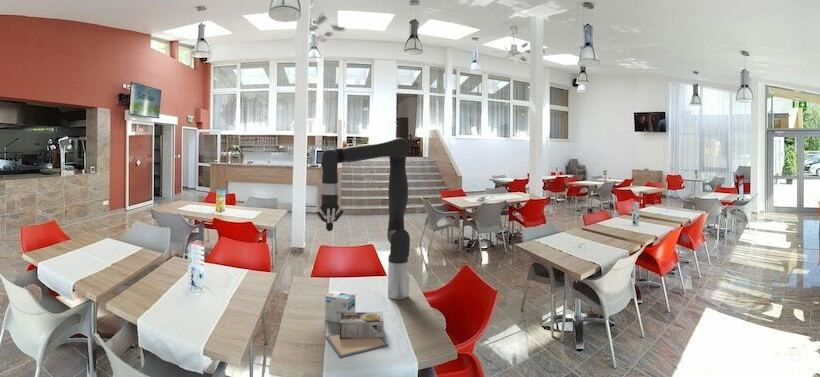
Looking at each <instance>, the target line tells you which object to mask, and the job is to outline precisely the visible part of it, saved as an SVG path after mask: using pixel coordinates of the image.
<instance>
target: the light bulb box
mask: <svg viewBox="0 0 820 377" xmlns="http://www.w3.org/2000/svg"><path fill="white" fill-rule="evenodd" d="M324 299H325V303H324V304H325V305H324V306H325V307H324V308H325V315H324V316H325V321H326V322H332V323H336V324H340V320H341V313H356V293H352V292H342V291H337V290H332V291H330V292H329V293H328V294H326V295H325V296H324Z"/></svg>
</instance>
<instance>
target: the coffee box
mask: <svg viewBox="0 0 820 377" xmlns="http://www.w3.org/2000/svg"><path fill="white" fill-rule="evenodd" d="M384 322H385V321H384V312H383V311H369V312H368V311H366V312H365V311H362V312H355V313H341V320H340V323H339V334H340V339H341V338H378V337H381V338H384V328H385V327H384Z"/></svg>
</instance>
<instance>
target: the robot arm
mask: <svg viewBox="0 0 820 377" xmlns="http://www.w3.org/2000/svg"><path fill="white" fill-rule="evenodd" d="M410 149H411V148H410V144H409V142H408V141H407V140H406V139H405V138H404V137H395V138H393V139H392V140H389V141H385V142H381V143H373V144H371V143H370V144H359V145H358V144H357V145H353V146H352V145H351V146H345V147H342V148H341V147H340V148H339V147H338V148H328V149H326V150H324V151H322V154H321V167H322V173H321V175H322V178H321V190H320V192H321V196H320V198H321V200H320V203H321V205H320V206H319V207H320V208H318V210H316V211H315V214H316V215H317V216H318V218H319V219H320V220H321V221H322V222H324V223H325V229H326V230H327V231H328V232H332V230H334V223H335V222H337V221H338V220H339V219H340V217H341V216H342V214H344V210H343V209H341V208H340V206H339V174H338V164H341V163H355V162H361V161H366V160H372V159H378V158H389V177H388V226H387V233H386V234H387V236H386V237H387V240H388V243H389V244H390V253H389V255H388V263H387V264H388V265H387V266H388V267H387V297H388V298H389V299H392V300H404V299H406V298H408V296H409V297H410V277H409V276H408V275H409V273H408V269H409V268H408V267H409V266H408V265H409V262H408V261H409V260H408V259H409V257H410V250H411V249H410V245H411V241H410V240H411V238H410V233H409V232H408V231H407V230H406V229H405V212H406V209H407V206H408V202H409V201H408V200H409V184H408V178H407V176H408V175H407V171H406V170H407V169H406V162H407V161H406V160H407V155H408V153H409V152H410ZM322 214H323V215H324V216H323V215H322Z"/></svg>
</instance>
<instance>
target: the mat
mask: <svg viewBox="0 0 820 377" xmlns="http://www.w3.org/2000/svg"><path fill="white" fill-rule="evenodd" d="M325 338H326V341H327V342H328V343H329V345H330V346H331V347H332V349H333V351H334V352H335V353H336V354H337V356H338V358H340V359H342V358H346V357H350V356H353V355H358V354H361V353H365V352H370V351H373V350H378V349H380V348H386V347H388V346H389V343H387V342H386V341H385V340H384V339H383V337H378V338H341V339H340V333H337V334H331V335H327V336H325Z"/></svg>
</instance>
